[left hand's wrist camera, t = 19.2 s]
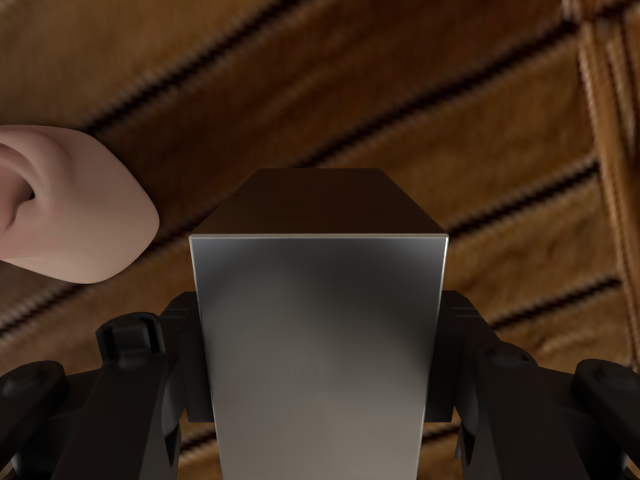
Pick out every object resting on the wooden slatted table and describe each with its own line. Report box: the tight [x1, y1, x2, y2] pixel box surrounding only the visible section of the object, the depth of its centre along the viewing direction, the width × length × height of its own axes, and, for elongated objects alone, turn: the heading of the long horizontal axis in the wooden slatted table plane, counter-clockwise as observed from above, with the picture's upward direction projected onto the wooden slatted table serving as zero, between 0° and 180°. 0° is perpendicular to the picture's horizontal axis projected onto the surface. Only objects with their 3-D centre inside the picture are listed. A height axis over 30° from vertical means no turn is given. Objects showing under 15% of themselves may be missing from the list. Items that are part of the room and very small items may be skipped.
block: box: [189, 168, 449, 480], centre depth 12 cm, size 5×7×8 cm
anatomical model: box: [0, 125, 159, 283], centre depth 21 cm, size 13×4×12 cm
